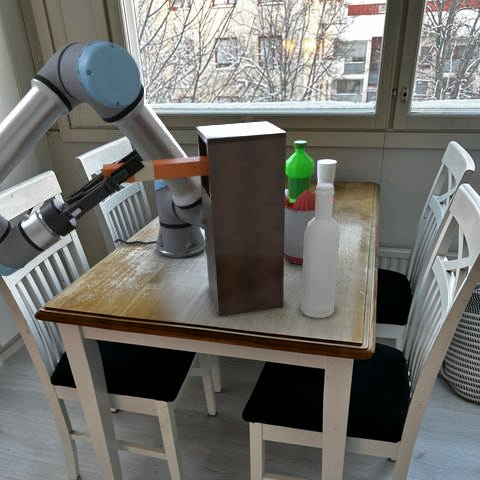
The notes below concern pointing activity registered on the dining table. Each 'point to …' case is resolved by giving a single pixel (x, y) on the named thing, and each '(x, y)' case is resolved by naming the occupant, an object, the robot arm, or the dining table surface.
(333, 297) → the bottle
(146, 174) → the block
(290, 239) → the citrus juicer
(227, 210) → the cupboard
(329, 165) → the white cup
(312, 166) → the plastic bottle
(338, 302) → the dining table surface
